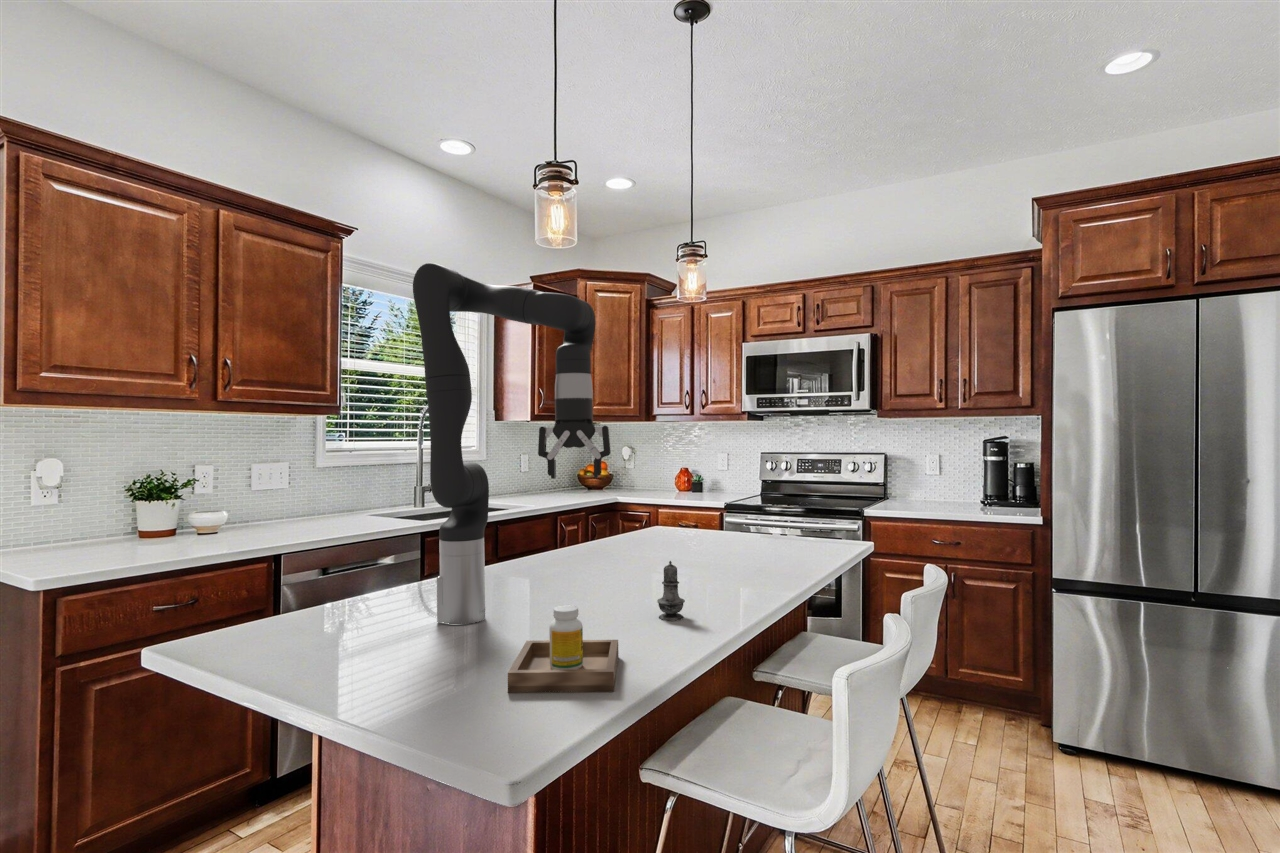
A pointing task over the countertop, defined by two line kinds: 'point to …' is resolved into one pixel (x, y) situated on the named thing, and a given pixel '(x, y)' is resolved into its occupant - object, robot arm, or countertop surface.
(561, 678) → the tray
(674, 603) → the salt shaker
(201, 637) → the countertop surface
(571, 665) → the supplement bottle
